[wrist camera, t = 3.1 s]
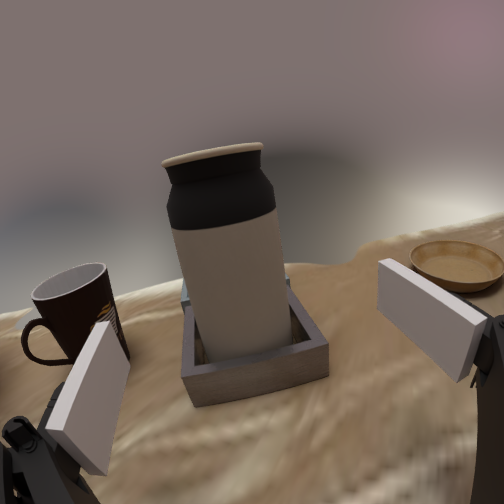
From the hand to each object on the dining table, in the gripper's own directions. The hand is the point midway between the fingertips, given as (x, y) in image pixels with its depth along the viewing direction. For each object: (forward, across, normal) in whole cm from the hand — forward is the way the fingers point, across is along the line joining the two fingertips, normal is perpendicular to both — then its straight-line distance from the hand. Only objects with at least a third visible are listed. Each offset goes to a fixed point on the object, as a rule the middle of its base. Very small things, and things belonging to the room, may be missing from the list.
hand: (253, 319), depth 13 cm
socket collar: (+10, 0, -10) cm, 14 cm away
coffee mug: (+12, -17, -10) cm, 23 cm away
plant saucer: (+13, +29, -11) cm, 33 cm away
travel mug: (+10, 0, -10) cm, 15 cm away
